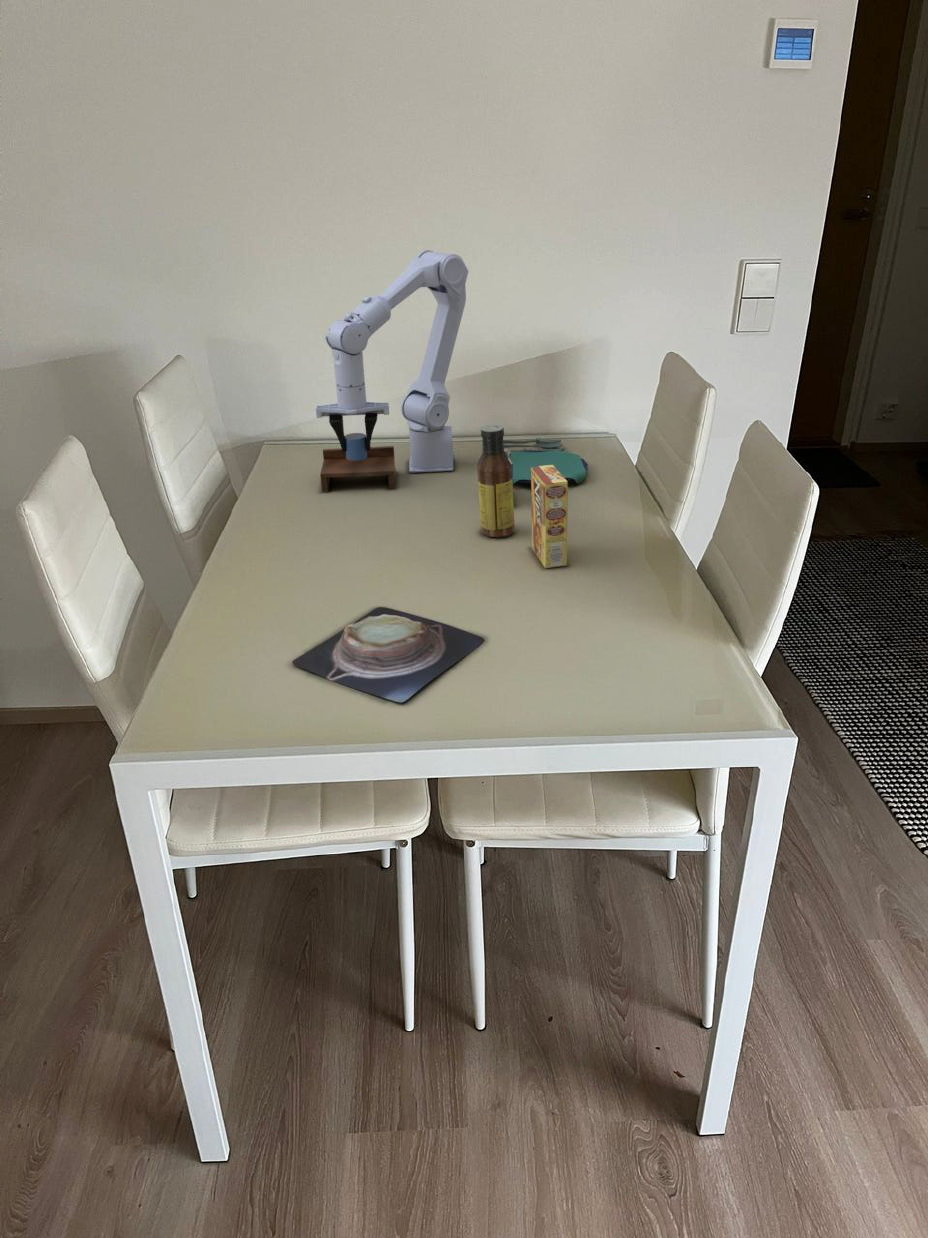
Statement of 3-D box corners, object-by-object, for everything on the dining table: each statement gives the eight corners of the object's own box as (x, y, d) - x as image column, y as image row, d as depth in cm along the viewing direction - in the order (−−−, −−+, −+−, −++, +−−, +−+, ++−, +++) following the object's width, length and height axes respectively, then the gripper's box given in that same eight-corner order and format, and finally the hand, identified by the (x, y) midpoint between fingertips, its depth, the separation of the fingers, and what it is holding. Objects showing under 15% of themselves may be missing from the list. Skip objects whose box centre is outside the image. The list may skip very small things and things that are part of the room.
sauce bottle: (515, 525, 179) (514, 421, 170) (513, 539, 174) (512, 432, 164) (480, 525, 180) (477, 421, 171) (477, 538, 175) (474, 432, 165)
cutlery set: (496, 492, 195) (495, 481, 194) (489, 445, 221) (489, 436, 220) (593, 489, 195) (594, 478, 194) (576, 442, 221) (576, 433, 220)
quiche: (402, 706, 127) (400, 680, 125) (288, 665, 137) (285, 641, 135) (487, 639, 142) (486, 615, 140) (379, 607, 152) (377, 584, 150)
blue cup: (368, 453, 200) (366, 432, 197) (367, 460, 196) (365, 438, 194) (346, 454, 199) (344, 433, 197) (345, 461, 196) (343, 439, 193)
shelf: (395, 472, 207) (393, 445, 204) (395, 489, 198) (393, 461, 196) (325, 475, 207) (323, 448, 204) (322, 492, 198) (319, 464, 195)
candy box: (567, 566, 163) (570, 481, 156) (543, 569, 162) (544, 483, 155) (552, 546, 171) (554, 463, 164) (529, 548, 170) (530, 466, 163)
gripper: (312, 390, 187) (319, 457, 193) (386, 387, 187) (391, 454, 194) (315, 381, 193) (321, 446, 199) (387, 378, 193) (391, 443, 200)
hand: (356, 449), depth 197 cm, fingers closed on blue cup, 4 cm apart
